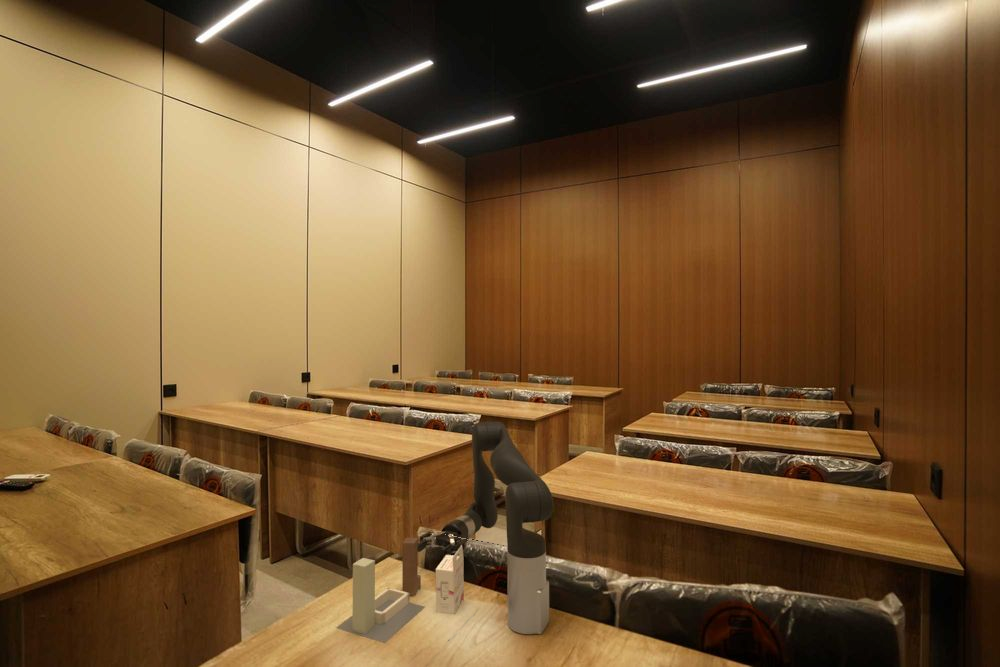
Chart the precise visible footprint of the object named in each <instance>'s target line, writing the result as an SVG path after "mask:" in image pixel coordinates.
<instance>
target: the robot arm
mask: <svg viewBox="0 0 1000 667" xmlns="http://www.w3.org/2000/svg"><path fill="white" fill-rule="evenodd" d="M514 443H515V442H513V440H512V438H511V436H510V434H509V432H508V429H507V428H506V426H505V425H504V424H503V423H502V422H501V421H483V422H482V421H481V422H476V423H474V425H473V426H472V431H471V447H472V448H471V449H472V461H473V462H472V464H473V474H474V475H473V476H474V479H473V480H474V481H473V483H474V484H473V499H474V501H473V502H471V504H470V505H469V507H468V508H467V510H466V511H465V512H464V514H462V515H460V516H458V517H456V518H454V519H453V520H450V521H449V522H448V523H446V524H445V525H444V526H443V528H442V529H441V531H440V532H437V533H434V531H433V532H430V531H431V530H428V531H427V532H425V533H424V534H421V535H420V536H419V537H418V538H419V540H418V541H419V542H418V553H420V552H422V551H424V550H425V549H427V548H429V547H431V548H439V547H441V548H442V547H443V548H442V551H441V554H442V555H441V556H442V557H443V558H444V557H445V556H446V555H451V554H455V553H456V552H457V551H458V549H459V548H460V546H461V545H462V548H463V552H464V551H465V550H466V549H465V547H466V545H467V543H468V544H469V540H470V539H471V537H472V536H474V535H475V534H476V533H477V532H478V531H480V529H481V528H482V527H483V528H486V529H492V528H493V527H494V526H495V525H496V524H497V521H498V515H499V513H498V507H497V504H496V499H495V488H496V487H495V485H496V481H495V477H496V478H497V479H498V480H499V481H500V482H501V483H502V484H503V485H506V489H505V494H504V502H505V517H506V518H505V519H506V520H505V521H506V541H507V542H506V544H507V545H506V546H507V549H506V550H507V554H506V555H507V557H506V558H507V625H508V627H509V628H510V629H511V630H512V631H514V632H515V633H517V634H522V635H534V634H535V635H536V634H537V635H542V634H543V632H544V630H545V629H546V627H547V626H548V624H549V623H550V581H549V580H547V544H546V539H545V537H544V536H543V535H542V534H540V533H538V532H536V531H532V530H529V529H526V528H524V527H523V524H526V523H534V522H535V523H536V522H543V521H546V520H548V519H550V518H551V517H552V515H553V513H554V508H555V507H554V497H553V495H552V492H551V489H550V488H549V487H548V485H547V483H546V482H545V481H544V479H542V478H541V477H540V476H539V475H538V474H537V473H536V472H535V471H534V470H533V468H532V467H531V466H530V464H529V463H528V462H527V460H526V459H525V457H524V456H523V455H522V453H521V452H520V450H519V449H518V448H517V446H516V445H515V444H514ZM483 452H491V455H490V458H489V462H490V467H491V469H492V470H491V469H490V467H489V465H488V464H487V463H486V461H485V459H484V456H483ZM492 471H493V472H492ZM493 473H494V474H493ZM494 475H495V476H494ZM432 533H433V535H432ZM441 533H442V534H441ZM445 534H446V535H445ZM448 535H452V536H448ZM453 536H457V537H453ZM435 537H436V538H435ZM458 537H461V538H466V539H461V538H458ZM467 539H468V540H467ZM429 540H430V541H429ZM467 541H468V542H467Z"/></svg>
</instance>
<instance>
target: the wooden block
mask: <svg viewBox="0 0 1000 667" xmlns="http://www.w3.org/2000/svg"><path fill="white" fill-rule="evenodd" d="M418 541H419V540H418V538H417V537H406V538H405V539H403V542H402V551H401V552H402V558H401V559H402V566H401V567H402V569H401V570H402V571H401V572H402V573H401V574H402V578H401V579H402V590H401V591H404V592H408V593H410V597H412V598H414V597H415V596H416V595H417V594H418V590H419V591H420V590H421V587H422V586H421V584H422V582H421V581H422V580H421V578H422V576H421V574H419V572H418V571H419V569H418V568H419V567H418V566H419V564H418V563H419V562H418V561H419V560H418V556H419V554H418V553H419V552H418V543H419V542H418Z"/></svg>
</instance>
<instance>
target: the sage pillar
mask: <svg viewBox="0 0 1000 667" xmlns="http://www.w3.org/2000/svg"><path fill="white" fill-rule="evenodd" d="M375 589H376V560H375V559H370V558H366V557H362V558H360V559H359V560H357V561H356V562H354V563H352V616H353V631H356V632H359V633H363V634H365V633H367V632H368V631H369V630H370V629H372V628H373V627H374V626H375V597H376V593H375V592H376V590H375Z"/></svg>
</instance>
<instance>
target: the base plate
mask: <svg viewBox="0 0 1000 667" xmlns="http://www.w3.org/2000/svg"><path fill="white" fill-rule="evenodd" d="M410 600H411V599H410V593H408V592H404V591H402V590H399V589H394V588H390V587H387V588H386V589H384V590H383V591H381V592H380V593H379V594H378V595H375V626H374V627H373V628H372V629H370V630H369V631H368V632H367V633H365V634H363V633H359V632H356V631H353V615H351V616H350V617H348V618H347V619H345V620H344V621H343V622H342V623H340V624H338V626H336V627H335V629H338V630H342V631H344V632H347V633H351V634H354V635H357V636H361V637H363V638H366V639H370V640H374V641H377V642H379V643H383V644H386V643H387V642H388V641H389V640H390V639H392V638H393V637H394V635H396V634H397V633H398V632H399V631H401V630H402V629H403V628H404V626H405V627H406V625H407V624H408V623H410V621H411V620H413V619H414V618H415V617H416V616H417V615H418V614H419V613H420V612H422V611H423V610H424V609H425V608H426V606H424V605H420V604H418V603H413V602H410Z"/></svg>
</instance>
